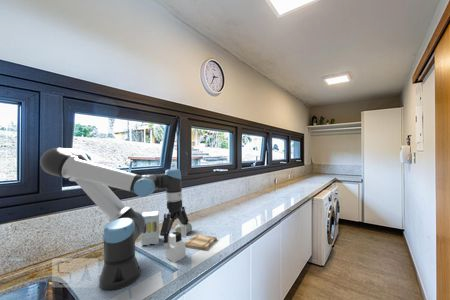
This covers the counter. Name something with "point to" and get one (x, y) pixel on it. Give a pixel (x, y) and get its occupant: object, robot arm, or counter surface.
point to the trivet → (200, 242)
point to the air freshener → (188, 227)
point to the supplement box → (150, 228)
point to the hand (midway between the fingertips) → (176, 242)
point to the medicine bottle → (176, 247)
